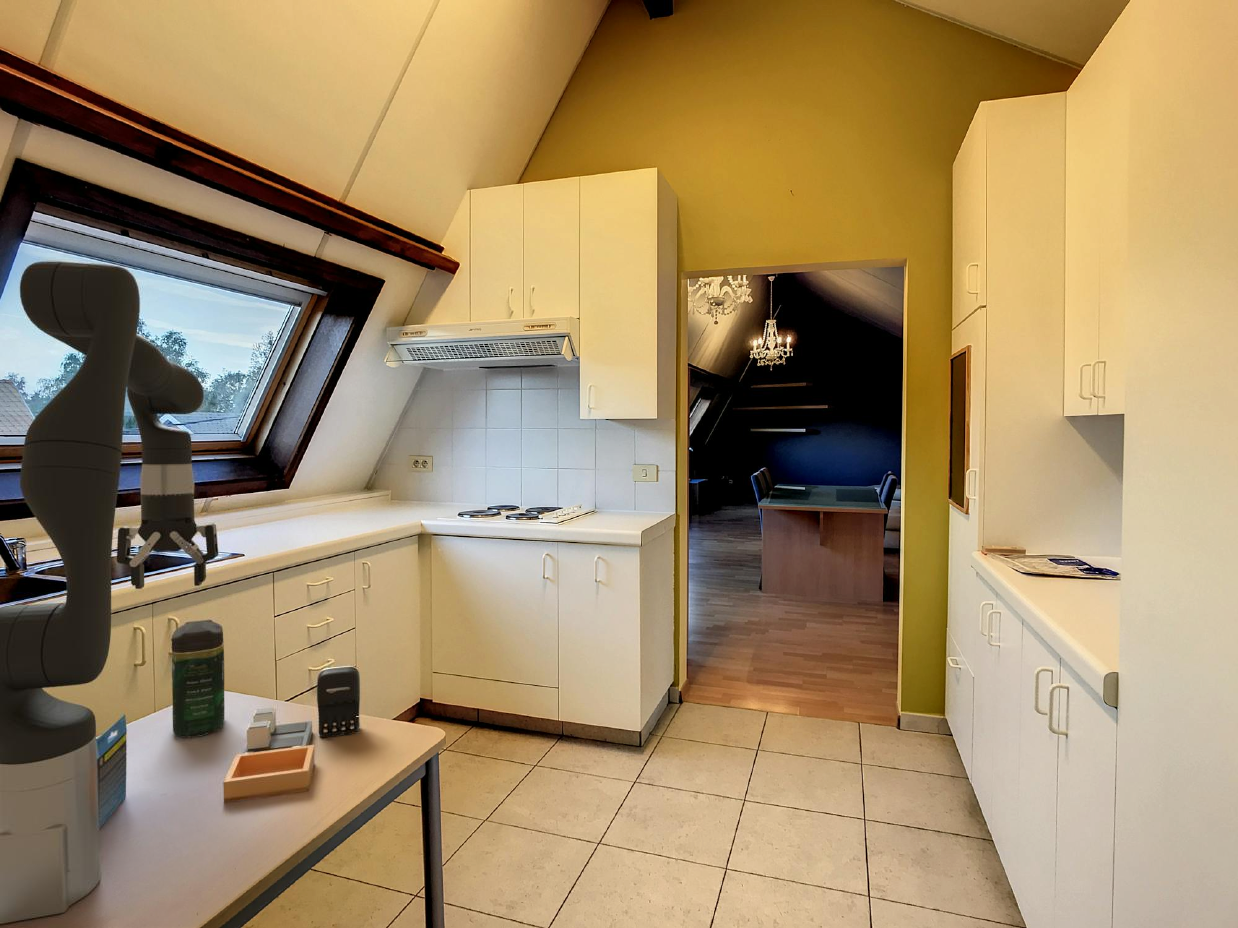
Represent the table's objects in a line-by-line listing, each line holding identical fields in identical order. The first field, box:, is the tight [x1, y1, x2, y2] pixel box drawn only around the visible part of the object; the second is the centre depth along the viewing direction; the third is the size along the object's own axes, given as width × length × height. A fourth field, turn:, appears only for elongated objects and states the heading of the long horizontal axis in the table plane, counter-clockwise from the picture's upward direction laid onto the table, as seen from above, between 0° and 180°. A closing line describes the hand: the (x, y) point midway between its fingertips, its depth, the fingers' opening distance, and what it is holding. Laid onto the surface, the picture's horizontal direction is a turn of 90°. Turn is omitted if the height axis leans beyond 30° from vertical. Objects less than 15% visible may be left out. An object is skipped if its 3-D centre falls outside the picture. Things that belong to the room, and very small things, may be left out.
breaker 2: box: [246, 721, 271, 749], centre depth 110 cm, size 2×3×3 cm
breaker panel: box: [242, 720, 313, 754], centre depth 113 cm, size 12×9×2 cm
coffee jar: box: [170, 619, 226, 738], centre depth 121 cm, size 10×8×19 cm
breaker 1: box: [252, 706, 277, 733], centre depth 116 cm, size 2×3×3 cm
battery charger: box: [316, 665, 361, 738], centre depth 120 cm, size 7×4×11 cm, turn 109°
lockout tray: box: [222, 744, 315, 804], centre depth 103 cm, size 9×11×3 cm
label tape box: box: [96, 713, 128, 830], centre depth 94 cm, size 9×4×12 cm, turn 15°
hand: (169, 586), depth 117 cm, fingers open, 8 cm apart
